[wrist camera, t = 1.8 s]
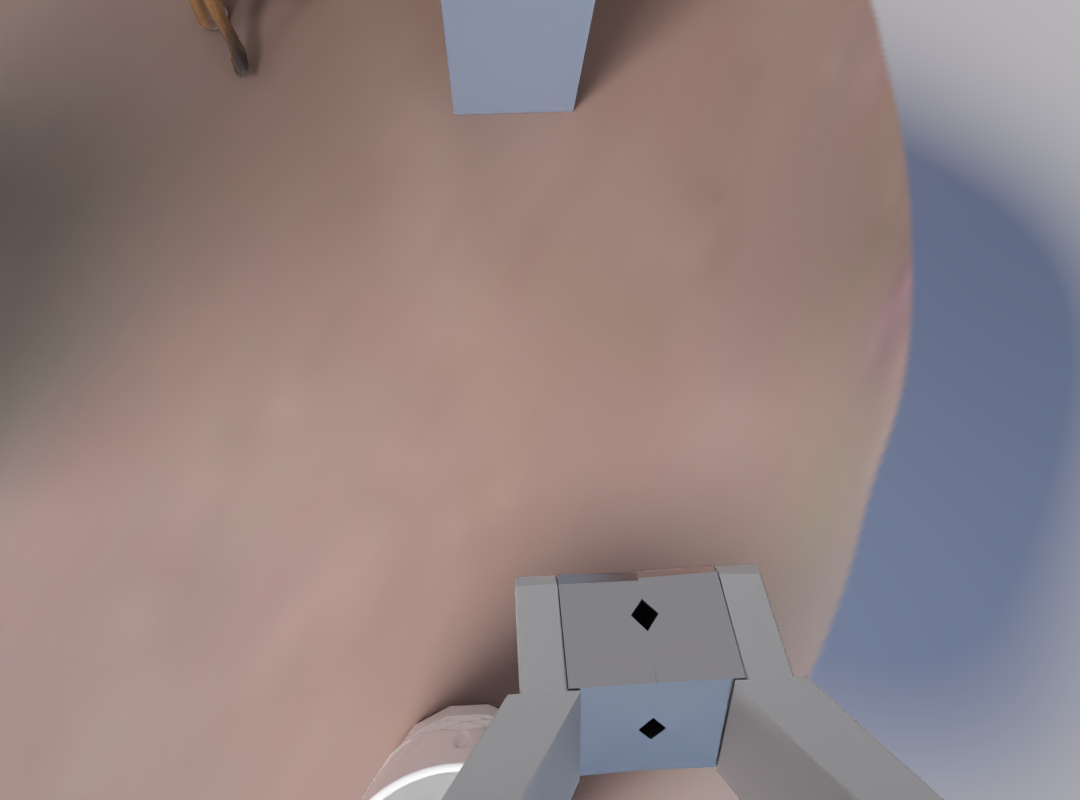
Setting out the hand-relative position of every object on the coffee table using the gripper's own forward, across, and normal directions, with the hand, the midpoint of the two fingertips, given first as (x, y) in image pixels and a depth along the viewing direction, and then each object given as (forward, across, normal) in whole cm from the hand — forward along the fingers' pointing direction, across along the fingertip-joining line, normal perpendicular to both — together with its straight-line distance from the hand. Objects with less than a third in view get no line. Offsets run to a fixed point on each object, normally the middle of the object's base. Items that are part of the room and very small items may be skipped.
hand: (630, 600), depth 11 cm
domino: (+30, +1, +5) cm, 31 cm away
